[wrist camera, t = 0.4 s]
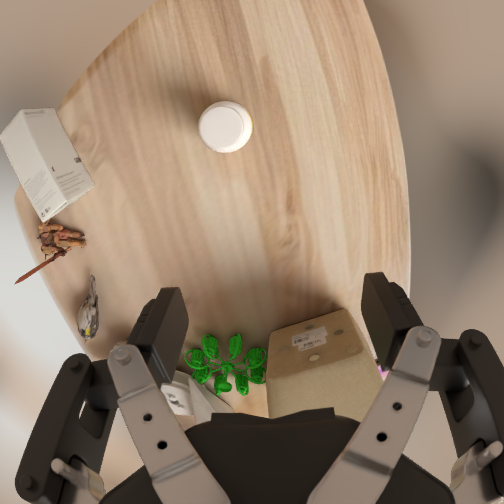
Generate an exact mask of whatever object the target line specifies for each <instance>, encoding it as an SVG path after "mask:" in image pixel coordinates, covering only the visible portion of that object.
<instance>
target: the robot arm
mask: <svg viewBox="0 0 504 504" xmlns="http://www.w3.org/2000/svg"><path fill="white" fill-rule="evenodd" d="M361 311H362V316H363V319H364V321H365V324H366V327H367V329H368V332H369V335H370V338H371V341H372V343H373V346H374V349H375V352H376V355H377V358H378V361H379V364H380V367H381V370H382V372H386V371H389V372H388V374H387V376H386V378H385V380H384V382H383V384H382V386H381V388H380V390H379V392H378V394H377V395H376V397H375V399H374V401H373V403H372V405H371V406H370V408H369V410H368V412H367V413H366V415H365V417H364V418H363V420H362V422H359V421H357V420H355V419H352V418H349V417H345V416H340V415H335V412H334V407H328V408H320V409H310V410H302V411H299V412H296V413H292V414H289V415H285V416H282V417H278V418H274V419H269V418H264V417H258V416H253V415H248V414H243V413H212V414H211V421H206V422H203V423H200V424H197V425H195V426H193V427H191V428H189V429H187V430H186V431H185V430H184V429H183V427H182V425H181V424H180V422H179V421H178V419H177V417H176V416H175V414H174V412H173V411H172V409H171V407H170V406H169V404H168V402H167V400H166V399H165V397H164V395H163V393H162V391H161V390H160V389H161V386H162V383H168V384H172V381H173V377H174V374H175V370H176V367H177V363H178V360H179V356H180V353H181V349H182V346H183V343H184V339H185V336H186V332H187V329H188V324H189V319H188V313H187V310H186V307H185V303H184V300H183V297H182V293H181V290H180V288H179V287H166V288H161V290H160V292H159V294H158V296H157V298H156V299H152V300H150V301H149V302H148V303H147V304H146V305H145V306H144V308H143V310H142V312H141V314H140V316H139V318H138V320H137V323H136V324H135V326H134V328H133V330H132V332H131V334H130V336H129V338H128V340H127V342H126V344H125V345H122V346H119V347H117V348H115V349H114V350H113V351H112V352H111V353H110V354H109V356H108V359H104V360H99V361H93V362H91V360H90V359H89V357H88V356H87V355H86V354H82V353H79V354H74V355H72V356H70V357H69V358H68V359H67V360H66V361H65V362H64V363H63V365H62V368H61V369H60V371H59V374H58V375H57V377H56V379H55V381H54V383H53V385H52V387H51V390H50V392H49V394H48V396H47V398H46V400H45V402H44V405H43V407H42V409H41V412H40V414H39V416H38V419H37V421H36V423H35V426H34V428H33V430H32V433H31V436H30V438H29V441H28V443H27V446H26V449H25V451H24V454H23V457H22V459H21V462H20V465H19V468H18V472H17V475H16V478H15V487H16V491H17V493H18V494H19V496H20V497H21V498H22V499H24V500H26V501H28V502H29V503H31V504H499V503H501V502H502V501H504V367H503V365H502V363H501V361H500V359H499V357H498V355H497V354H496V352H495V350H494V348H493V346H492V344H491V343H490V341H489V340H488V338H487V336H486V335H485V334H483V333H482V332H480V331H478V330H475V329H469V330H466V331H464V332H463V333H462V334H461V336H460V338H459V339H443V338H440V335H439V334H438V333H437V332H436V331H435V330H434V329H432V328H430V327H427V326H424V325H423V323H422V321H421V319H420V317H419V316H418V314H417V312H416V311H415V309H414V307H413V305H412V304H411V302H410V300H409V298H407V295H406V293H405V292H404V290H403V288H401V287H400V286H399V285H397V284H396V283H395V282H390V283H389V282H388V280H387V278H386V277H385V275H384V273H383V272H376V273H366V274H365V276H364V283H363V292H362V300H361ZM428 391H439V394H440V398H441V400H442V404H443V407H444V410H445V413H446V416H447V420H448V423H449V426H450V430H451V433H452V437H453V441H454V445H455V448H456V452H457V457H458V460H457V461H456V462H455V463H454V466H453V468H452V471H451V484H450V487H448V486H447V485H446V484H444V483H443V482H442V481H440V480H439V479H437V478H436V477H434V476H433V475H432V474H430V473H429V472H427V471H426V470H425V469H423V468H422V467H420V466H419V465H417V464H416V463H415V462H413V461H412V460H411V459H409V458H408V457H407V456H405V455H404V454H403V453H402V452H403V450H404V448H405V446H406V444H407V442H408V439H409V437H410V435H411V433H412V431H413V428H414V426H415V424H416V421H417V419H418V416H419V414H420V412H421V409H422V406H423V404H424V401H425V398H426V396H427V393H428ZM84 401H85V402H86V403H85V406H84V409H83V411H82V414H81V417H80V419H79V413H80V410H81V408H82V405H83V403H84ZM117 408H120V411H121V413H122V416H123V418H124V421H125V423H126V426H127V428H128V430H129V432H130V435H131V437H132V439H133V442H134V444H135V446H136V448H137V450H138V452H139V455H140V457H141V459H142V461H143V463H144V465H143V466H142V467H141V468H140V469H138V470H137V471H136V472H135V473H133V474H132V475H131V476H130V477H128V478H127V479H126V480H124V481H123V482H122V483H120V484H119V485H118V486H116V487H115V488H114V489H112V490H111V491H109V492H108V493H107V494H106V491H105V489H104V483H103V480H102V478H101V477H100V475H99V472H100V468H101V465H102V461H103V457H104V452H105V449H106V445H107V441H108V438H109V434H110V431H111V427H112V424H113V420H114V417H115V414H116V411H117ZM105 494H106V495H105Z"/></svg>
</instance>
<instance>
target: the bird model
mask: <svg viewBox="0 0 504 504" xmlns="http://www.w3.org/2000/svg"><path fill="white" fill-rule="evenodd" d="M95 288H96V283H95V277H94V276H93V275H92V274H91V275H90V291H89V294H88V296H87V298H86V300H85V302H84V303H83V304H82V305H81V307H80V309H79V313H78V330H79V333H80V335H81V336H82V337H84V338H85V339H86V340H85V343H86V342H87V341H88V339H91V338H94V337H95V334H96V331H97V329H98V295H95Z"/></svg>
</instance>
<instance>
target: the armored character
mask: <svg viewBox="0 0 504 504" xmlns="http://www.w3.org/2000/svg"><path fill="white" fill-rule="evenodd" d="M48 222H50V221H48V220H47V221H46V222H44V223H42V221H41V222H40V224H39V227H38V228H39V233H40V236H39V237H40V239H41V243H42V244H43V245H42V247H41V250H42V251H43V249H44V251H43V253H44V254H45V260H46V255H49V254H51V253H52V254H53V253H54V252H55V251H58V252H57V253H55V254H54V256H53V257H52V258H50V259H48V260H47V261H45V262H43V263H42V264H40V265H39V266H37V267H36V268H34V269H32V270H31V271H29V272H28V273H26V274H25V275H23V276H22V277H20V278H19V279H18V281H16V283H19V282H21V281H23V280H24V279H26V278H28V277H29V276H31V275H32V274H33V273H35V272H36V271H38V270H39V269H41V268H42V267H44V266H45V265H47V264H48V263H50V262H52V261H54V260H55V259H56V258H58V257H59V256H65V254H66V253H67V251H68V250H71V247H70V246H71V245H72V246H80V245H81V248H84V247H85V246H86V241H82V242H81V241H80V240H74V241H72V240H70V238H68V237H73V238H74V237H76V238H77V237H82V236H84V233H83V234H82V233H80V232H78V231H72V232H71V231H69V230H68V229H64V228H63V226H61V225H58V224H54V225H52V224H51V225H50V224H48ZM57 229H58V230H57ZM55 230H57V231H56V232H55ZM39 237H38V238H39ZM38 238H37V239H38ZM54 244H55V245H54ZM62 247H68V248H67V249H65V250H64V249H63V248H62ZM46 253H49V254H46ZM16 283H15V284H16Z"/></svg>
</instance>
